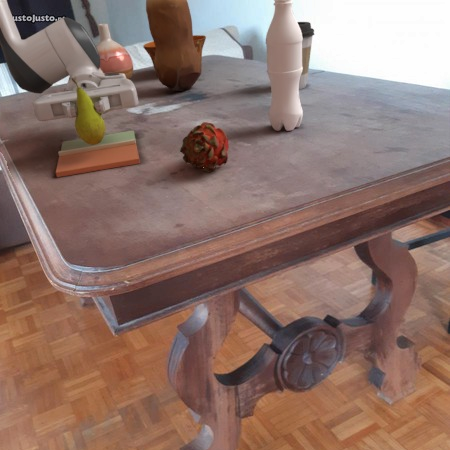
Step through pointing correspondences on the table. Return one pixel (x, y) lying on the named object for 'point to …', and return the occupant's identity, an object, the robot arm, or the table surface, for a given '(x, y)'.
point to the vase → (113, 54)
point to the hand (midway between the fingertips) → (86, 110)
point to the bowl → (197, 41)
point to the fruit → (88, 119)
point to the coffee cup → (305, 51)
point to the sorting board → (97, 154)
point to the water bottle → (284, 67)
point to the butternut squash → (173, 43)
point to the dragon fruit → (205, 147)
